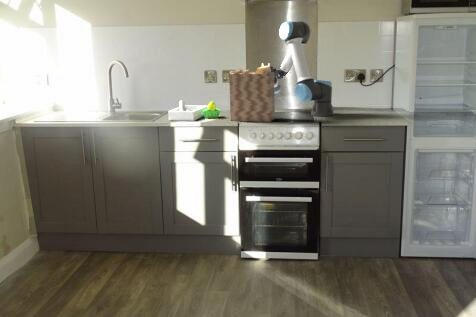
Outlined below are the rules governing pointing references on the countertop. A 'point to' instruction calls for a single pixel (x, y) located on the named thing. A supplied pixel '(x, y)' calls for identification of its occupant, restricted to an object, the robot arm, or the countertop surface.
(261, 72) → the bar
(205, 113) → the fruit basket
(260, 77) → the brown patterned box
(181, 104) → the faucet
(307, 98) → the robot arm
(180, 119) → the tray
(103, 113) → the countertop surface
